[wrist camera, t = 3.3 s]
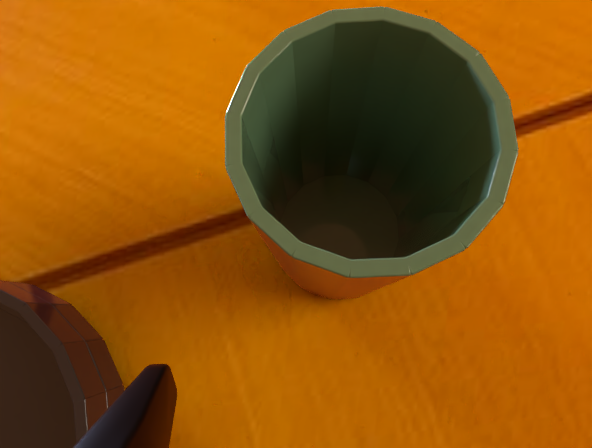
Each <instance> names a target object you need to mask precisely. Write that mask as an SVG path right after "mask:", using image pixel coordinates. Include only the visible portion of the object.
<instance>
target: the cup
mask: <svg viewBox="0 0 592 448" xmlns="http://www.w3.org/2000/svg"><path fill="white" fill-rule="evenodd" d="M479 53H480V52H479V51H478V50H476V49H475V48H473V47H472V46H471V45H469V44H468V43H466V42H465V41H464V40H462V39H461V38H459V37H458V36H457V35H455V34H454V33H453V32H451V31H450V30H448V29H447V28H446V27H444V26H443V25H441V24H440V23H439V22H436V21H435V20H431V19H428V18H424V17H420V16H417V15H413V14H410V13H406V12H403V11H399V10H396V9H392V8H388V7H385V8H384V7H368V8H352V9H336V10H332V11H327V12H325V13H323V14H320V15H318V16H316V17H313V18H311V19H309V20H306V21H304V22H302V23H299V24H297V25H295V26H293V27H290V28H288V29H286V30H284V32H281V33H280V34H279V35H278V36H277V37H276V38H275V39H274V40H273V41H272V42H271V43H270V44H269V45H268V46H267V47H266V48H265V49H263V50H262V51H261V52H260V53H259V54H258V55H257V56H256V57H255V58H254V59H253V60H252V61H251V62H250V63H249V64H248V65H247V67H246V68H245V70H244V72H243V74H242V77H241V79H240V81H239V83H238V86H237V88H236V90H235V93H234V95H233V97H232V100H231V102H230V104H229V106H228V109H227V111H226V115H225V166H226V170H227V173H228V175H229V177H230V179H231V181H232V184H233V186H234V188H235V190H236V193H237V195H238V197H239V199H240V202H241V204H242V206H243V208H244V211H245V213H246V215H247V217H248V218H249V220H250V221H251V223H252V224H253V226H254V227H255V229H256V230H257V232H258V233H259V235H260V236H261V238H262V239H263V241H264V242H265V244H266V245H267V247H268V248H269V250H270V251H271V253H272V254H273V256H274V257H275V259H276V260H277V262H278V263H279V265H280V266H281V268H282V269H283V271H284V272H285V273H286V274H287V275H288V276H289V277H290V278H291V279H292V280H293V281H294V282H295V283H297V284H298V285H299V286H300V287H301V288H302V289H304V290H306V291H308V292H311V293H313V294H315V295H318V296H321V297H325V298H327V299H348V298H358V297H360V296H363V295H365V294H368V293H370V292H373V291H375V290H377V289H380V288H382V287H385V286H387V285H389V284H392V283H394V282H397V281H399V280H402V279H404V278H406V277H409V276H411V275H414V274H416V273H418V272H420V271H422V270H424V269H426V268H428V267H431V266H433V265H435V264H437V263H439V262H441V261H443V260H445V259H447V258H449V257H452V256H454V255H456V254H458V253H460V252H462V251H464V250H465V249H466V248H468V247H469V246H470V244H471V243H472V242H473V241H474V240H475V239H476V237H477V236H478V235H479V234H480V233H481V232H482V230H483V229H484V228H485V227H486V226H487V225H488V223H489V222H490V221H491V220H492V219H493V218H494V216H495V215H496V214H497V213H498V212H499V210H500V209H501V208H502V207H503V204H504V203H505V199H506V196H507V192H508V188H509V185H510V181H511V177H512V174H513V170H514V167H515V163H516V159H517V156H518V145H517V139H516V133H515V127H514V121H513V115H512V109H511V103H510V99H508V98H509V96H508V94H507V93H506V91H505V90H504V88H503V87H502V85H501V84H500V82H499V80H498V79H497V77H496V76H495V74H494V73H493V71H492V70H491V68H490V67H489V65H488V63H487V62H486V60H485V59H484V57H483V56H482V54H481V53H480V54H479Z"/></svg>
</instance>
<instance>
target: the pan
mask: <svg viewBox="0 0 592 448" xmlns="http://www.w3.org/2000/svg"><path fill="white" fill-rule="evenodd" d="M102 339H103V338H102V337H101V336H100V335H99V334H98V333H97V331H96V330H95V329H94V328H93V327H92V326H91V325H90V324H89V323H88V322H87V321H86V320H85V318H84V317H83V316H82V315H81V314H80V313H79V312H78V311H77V310H76V309H75V308H74V307H73V306H72V304H70V303H68V302H66V301H64V300H62V299H60V298H58V297H56V296H54V295H52V294H50V293H48V292H46V291H44V290H42V289H40V288H38V287H36V286H34V285H31V284H26V283H18V282H9V281H1V280H0V448H73V446H74V445H75V444H76V443H77V442H78V441H79V440H80V439H81V438H82V437H83V436H84V434H85V433H86V432H87V431H88V430H89V429H90V428H91V427H92V426H93V425H94V423H95V422H96V421H97V420H98V419H99V418H100V417H101V416H102V415H103V414H104V413H105V411H106V410H107V409H108V408H109V407H110V406H111V405H112V404H113V403H114V402H115V401H116V399H117V398H118V397H119V396H120V395H121V394H122V393H123V392H124V385H123V383H122V381H121V378H120V376H119V374H118V372H117V369H116V367H115V365H114V362H113V360H112V358H111V355H110V353H109V351H108V348H107V346H106V344H105V341H104V340H102Z"/></svg>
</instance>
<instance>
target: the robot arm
mask: <svg viewBox="0 0 592 448" xmlns="http://www.w3.org/2000/svg"><path fill="white" fill-rule="evenodd" d="M176 400H177V388H176V385H175V382H174V378H173V375H172V372H171V369H170V367H169V366H168V365H167V364H152V365H149V366H147V367H146V368H145V369H144V370H143V371H142V372H141V373H140V374H139V375H138V376H137V378H136V379H135V380H134V381H133V382H132V383H131V384H130V385H129V386H128V387H127V388H126V390H125V391H124V392H123V393H122V394H121V395H120V396H119V397H118V398H117V399H116V401H115V402H114V403H113V404H112V405H111V406H110V407H109V408H108V409H107V410H106V411H105V413H104V414H103V415H102V416H101V417H100V418H99V419H98V420H97V421H96V422H95V423H94V425H93V426H92V427H91V428H90V429H89V430H88V431H87V432H86V433H85V434H84V436H83V437H82V438H81V439H80V440H79V441H78V442H77V443H76V444H75V445H74V446H73V448H169V443H170V437H171V431H172V424H173V418H174V412H175V406H176Z"/></svg>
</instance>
